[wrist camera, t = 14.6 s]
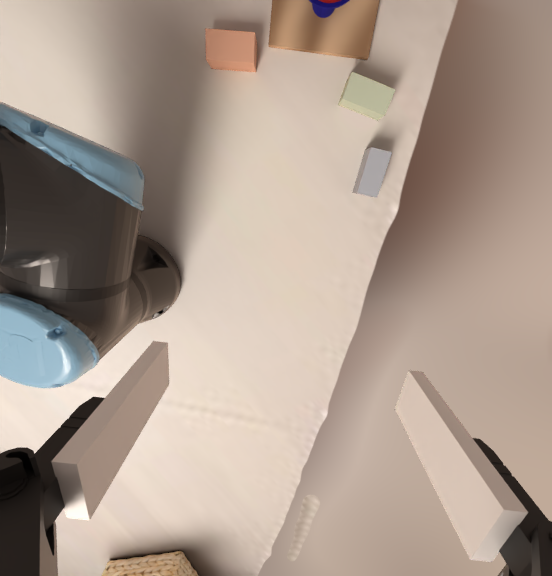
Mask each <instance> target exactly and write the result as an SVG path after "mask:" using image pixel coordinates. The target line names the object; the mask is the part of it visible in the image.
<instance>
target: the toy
mask: <svg viewBox="0 0 552 576" xmlns="http://www.w3.org/2000/svg"><path fill="white" fill-rule="evenodd" d="M309 1H310V2H311V3H312V8H313V10H314V13H315V14H316V15H317V16H318V17H320V18H327V17H329V16H330V15H331V14H332V13H333V12H334V10H335V8H338V7H340V6H342V5H344V4H346V3H347V2H348V1H350V0H309Z"/></svg>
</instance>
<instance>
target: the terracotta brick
mask: <svg viewBox="0 0 552 576" xmlns="http://www.w3.org/2000/svg"><path fill="white" fill-rule="evenodd" d="M205 30H206V60H207V62H208V63H209V65H210V67H211V68H212V69H221V70H234V71H247V72H256V61H257V41H256V35H255V32H245V31H232V30H219V29H206V28H205Z"/></svg>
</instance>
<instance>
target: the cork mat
mask: <svg viewBox="0 0 552 576" xmlns="http://www.w3.org/2000/svg"><path fill="white" fill-rule="evenodd" d="M378 5H379V0H350V1H348V2H347V3H346V4H344V5H342V6H340V7H338V8H335V10H334V12H333V13H332V14H331V15H330V16H329V17H327V18H320V17H318V16H317V15H316V14H315V13H314V10H313V8H312V3H311V2H310V1H309V0H272V11H271V23H270V35H269V47H274V48H281V49H289V50H296V51H304V52H311V53H319V54H326V55H334V56H341V57H349V58H356V59H363V60H367V59H368V56H369V51H370V46H371V41H372V36H373V31H374V26H375V21H376V15H377V10H378Z"/></svg>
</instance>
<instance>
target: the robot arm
mask: <svg viewBox="0 0 552 576" xmlns="http://www.w3.org/2000/svg"><path fill="white" fill-rule="evenodd" d="M144 181H145V179H144V174H143V172H142V170H141V168H140V167H139V165H138V164H137V163H135V162H134V161H133V160H131V159H129V158H127V157H126V156H123V155H121V154H119V153H117V152H115V151H113V150H111V149H108V148H106V147H104V146H102V145H100V144H97V143H95V142H93V141H91V140H88V139H86V138H84V137H82V136H79V135H77V134H75V133H73V132H70V131H68V130H66V129H64V128H61V127H59V126H57V125H54V124H52V123H50V122H47V121H45V120H43V119H40V118H38V117H36V116H34V115H31V114H29V113H26V112H24V111H21V110H19V109H16V108H14V107H12V106H9V105H7V104H5V103H2V102H0V375H1V376H2V377H4V378H6V379H9V380H11V381H14V382H16V383H19V384H23V385H26V386H31V387H37V388H55V387H60V386H63V385H65V384H69V383H71V382H73V381H75V380H76V379H78V378H79V377H81V376H82V375H83V374H85V373H86V372H87V371H89V370H90V369H92V368H94V366H96V365H97V363H98V362H99V360H100V359H101V358H102V357H103V356H104V355H105V354H106V353H108V352H109V351H110V350H111V349H112V348H113V347H114V346H115V345H116V344H117V343H118V342H119V341H120V340H121V339H122V338H123V337H124V336H125V335H127V334H128V333H129V332H130V331H131V330H132V329H133V328H134V327H135V326H136V325H137V324H139V323H142V322H145V321H148V320H151V319H154V318H157V317H159V316H160V315H162V314H163V313H165V312H166V311H167V310H168V309H169V308H170V307H171V306H172V305H173V304H174V302H175V301H176V299H177V297H178V295H179V292H180V286H181V279H180V273H179V270H178V267H177V265H176V263H175V261H174V259H173V258H172V257H171V255H170V254H169V253H168V252H167V251H166V250H165V249H164V248H163V247H162V246H161V245H159V244H158V243H157V242H155V241H153V240H151V239H149V238H147V237H144V236H140V235H138V229H139V223H140V217H141V211H143V210H144V207H143V205H142V200H143V191H144ZM168 385H169V364H168V343H165V342H156V341H153V342H152V343H151V345H150V346H149V347H148V348H147V349H146V351H145V352H144V353H143V354H142V355H141V356H140V358H139V359H138V360H137V361H136V362H135V363H134V365H133V366H132V367H131V368H130V369H129V371H128V372H127V373H126V374H125V375H124V376H123V378H122V379H121V380H120V381H119V382H118V384H117V385H116V386H115V387H114V388H113V389H112V391H111V392H110V393H109V394H108V395H107V396H106V398H99V397H92V398H91V399H89V400H88V401H86V402H85V403H83V404H82V405H80V406H79V407H78V408H77V409H76V410H75V411H74V412H73V413H72V415H71V416H70V417H69V419H67V420H66V421H65V422H64V423H63V424H62V425H61V428H58V430H57V431H56V432H55V433H54V434H53V435H52V436H51V437H50V438H49V439H48V440H47V441H46V442H45V443H44V444H43V446H42V447H41V448H40V449H39V450H38V451H37V452H36V453H35V454H34V452H33V450H31V449H29V448H15V449H11V450H7V451H5V452H3V453H1V454H0V576H58V569H57V539H56V524H55V520H56V518H57V517H58V515H59V514H60V512H61V511H62V509H63V508H64V509H65V513H66V517H67V518H73V519H82V520H90V519H91V517H92V515H93V513H94V512H95V510H96V508H97V507H98V505H99V503H100V501H101V500H102V498H103V496H104V495H105V493H106V491H107V489H108V488H109V486H110V484H111V483H112V481H113V479H114V478H115V476H116V474H117V472H118V471H119V469H120V467H121V466H122V464H123V462H124V460H125V459H126V457H127V455H128V454H129V452H130V450H131V448H132V447H133V445H134V443H135V442H136V440H137V438H138V436H139V435H140V433H141V431H142V430H143V428H144V426H145V424H146V423H147V421H148V419H149V418H150V416H151V414H152V412H153V411H154V409H155V407H156V406H157V404H158V402H159V400H160V399H161V397H162V395H163V394H164V392H165V390H166V388H167V387H168ZM395 410H396V412H397V414H398V416H399V418H400V420H401V422H402V424H403V426H404V428H405V430H406V432H407V434H408V436H409V438H410V440H411V442H412V444H413V446H414V448H415V450H416V452H417V454H418V456H419V458H420V460H421V462H422V464H423V466H424V468H425V470H426V472H427V474H428V476H429V478H430V480H431V482H432V484H433V486H434V488H435V490H436V492H437V494H438V496H439V498H440V500H441V502H442V504H443V506H444V508H445V510H446V512H447V514H448V516H449V518H450V520H451V522H452V524H453V526H454V528H455V530H456V532H457V534H458V536H459V538H460V540H461V542H462V544H463V546H464V548H465V550H466V552H467V554H468V556H469V558H470V560H477V561H487V562H492V561H493V560H494V558H495V557H496V556H497V554H498V553H499V552H500V553H501V555H502V556H503V558H504V560H505V561H506V563H507V564H506V566H505V567H504V568H503V569H502V571H501V572H500V573H499V575H498V576H552V522H551V521H549V520H548V519H547V518H546V517H545V515H544V514H543V513H542V511H541V510H540V509H539V508H538V506H537V505H536V504H535V503H534V501H533V500H532V499H531V498H530V496H529V495H528V494H527V493H526V492H525V490H524V489H523V488H522V486H521V485H520V484H519V483H518V481H517V480H516V479H515V478H514V477H512V475H511V473H510V471H509V470H508V469H507V468H506V466H504V465H503V462H502V461H501V460H500V459H499V457H498V456H497V455H496V454H495V452H494V451H493V450H492V449H491V448H489V447H488V446H487V445H486V444H485V443H484V442H483V441H481V440H480V439H476V438H472V437H471V436H470V434H469V433H468V432H467V430H466V429H465V428H464V426H463V425H462V424H461V422H460V421H459V420H458V418H457V417H456V416H455V414H454V413H453V412H452V410H451V409H450V408H449V406H448V405H447V404H446V402H445V401H444V400H443V398H442V397H441V396H440V395H439V393H438V392H437V390H436V389H435V388H434V386H433V385H432V384H431V383H430V381H429V380H428V378H427V377H426V376H425V374H424V373H423V372H419V371H408V374H407V377H406V380H405V382H404V385H403V388H402V391H401V393H400V396H399V399H398V402H397V404H396V407H395Z"/></svg>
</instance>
